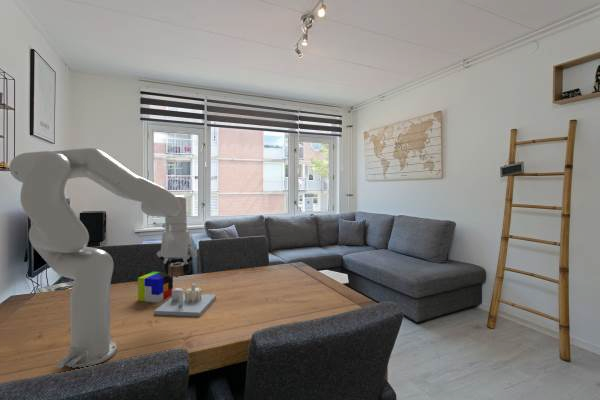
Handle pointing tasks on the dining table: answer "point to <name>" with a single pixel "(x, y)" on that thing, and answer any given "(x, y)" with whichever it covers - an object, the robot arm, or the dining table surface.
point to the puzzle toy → (154, 287)
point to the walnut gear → (176, 269)
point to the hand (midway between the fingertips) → (177, 272)
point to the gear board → (186, 303)
